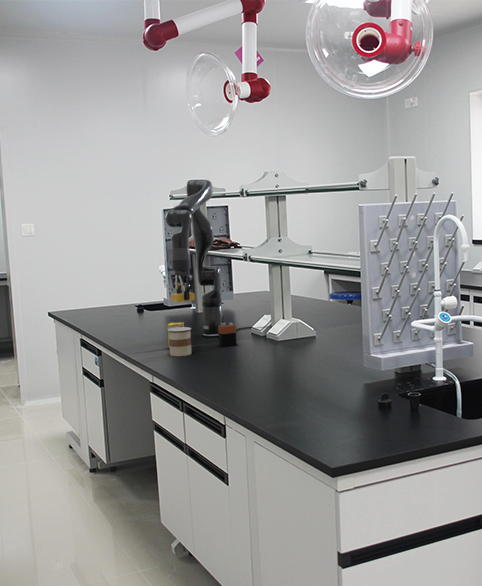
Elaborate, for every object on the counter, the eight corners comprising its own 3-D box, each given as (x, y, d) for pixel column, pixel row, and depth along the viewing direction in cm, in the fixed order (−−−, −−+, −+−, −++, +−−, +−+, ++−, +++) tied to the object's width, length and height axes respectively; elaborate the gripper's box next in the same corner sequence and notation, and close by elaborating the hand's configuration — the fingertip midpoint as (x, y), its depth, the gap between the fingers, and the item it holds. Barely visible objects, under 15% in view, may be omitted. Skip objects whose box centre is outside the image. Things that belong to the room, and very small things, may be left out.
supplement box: (185, 346, 311) (184, 322, 310) (181, 349, 305) (180, 324, 304) (172, 346, 311) (170, 322, 310) (168, 349, 306) (166, 324, 304)
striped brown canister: (184, 350, 301) (183, 326, 300) (197, 353, 294) (195, 328, 293) (164, 354, 295) (163, 329, 294) (176, 357, 288) (175, 332, 286)
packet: (188, 299, 297) (187, 292, 296) (194, 300, 293) (194, 293, 293) (171, 301, 291) (171, 294, 291) (178, 302, 288) (177, 295, 287)
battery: (218, 345, 311) (217, 323, 310) (233, 343, 314) (232, 321, 313) (222, 347, 307) (221, 324, 306) (236, 345, 310) (235, 322, 309)
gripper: (198, 258, 287) (200, 299, 289) (179, 257, 298) (181, 297, 300) (182, 259, 282) (184, 301, 284) (164, 258, 293) (166, 299, 295)
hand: (183, 299), depth 292 cm, fingers closed on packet, 5 cm apart
